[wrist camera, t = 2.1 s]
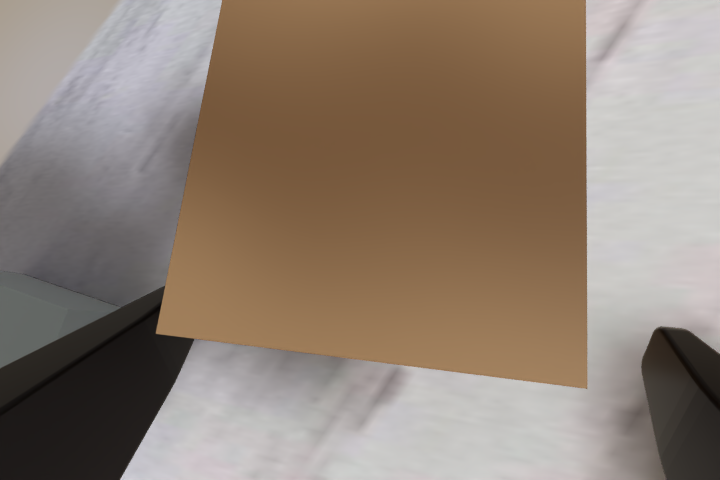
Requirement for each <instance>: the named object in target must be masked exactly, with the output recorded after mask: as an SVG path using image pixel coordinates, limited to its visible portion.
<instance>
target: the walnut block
mask: <svg viewBox="0 0 720 480" xmlns="http://www.w3.org/2000/svg"><path fill="white" fill-rule="evenodd" d="M156 334H162V335H169V336H177V337H185V338H193V339H201V340H209V341H217V342H224V343H232V344H240V345H248V346H256V347H264V348H272V349H279V350H287V351H295V352H303V353H311V354H319V355H327V356H334V357H342V358H350V359H358V360H366V361H374V362H382V363H389V364H397V365H405V366H413V367H421V368H429V369H437V370H444V371H452V372H460V373H468V374H476V375H484V376H492V377H499V378H507V379H515V380H523V381H531V382H539V383H547V384H554V385H562V386H570V387H578V388H586V389H587V194H586V0H222V5H221V10H220V15H219V20H218V25H217V30H216V35H215V40H214V45H213V50H212V55H211V60H210V65H209V70H208V75H207V80H206V85H205V90H204V95H203V100H202V105H201V110H200V115H199V120H198V125H197V130H196V135H195V140H194V145H193V150H192V155H191V160H190V165H189V170H188V175H187V180H186V185H185V190H184V195H183V200H182V205H181V210H180V215H179V220H178V225H177V230H176V235H175V240H174V245H173V250H172V255H171V260H170V265H169V270H168V275H167V280H166V285H165V290H164V295H163V300H162V305H161V310H160V315H159V320H158V325H157V330H156Z"/></svg>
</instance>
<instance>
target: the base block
mask: <svg viewBox="0 0 720 480" xmlns="http://www.w3.org/2000/svg"><path fill="white" fill-rule="evenodd" d="M119 308H121V307H118V306H115V305H112V304H109V303H106V302H103V301H100V300H97V299H94V298H92V297H89V296H86V295H83V294H80V293H77V292H74V291H71V290H68V289H65V288H62V287H59V286H56V285H53V284H51V283H48V282H45V281H42V280H39V279H36V278H33V277H30V276H27V275H24V274H20V273H13V272H6V271H0V368H1V367H3V366H5V365H7V364H9V363H11V362H13V361H15V360H17V359H19V358H21V357H23V356H25V355H27V354H29V353H31V352H33V351H35V350H37V349H39V348H41V347H43V346H45V345H47V344H49V343H51V342H53V341H55V340H57V339H59V338H61V337H63V336H65V335H67V334H69V333H71V332H73V331H75V330H77V329H79V328H81V327H83V326H85V325H87V324H89V323H91V322H93V321H95V320H97V319H99V318H101V317H103V316H105V315H107V314H109V313H111V312H113V311H115V310H117V309H119Z"/></svg>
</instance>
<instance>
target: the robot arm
mask: <svg viewBox="0 0 720 480" xmlns="http://www.w3.org/2000/svg"><path fill="white" fill-rule="evenodd" d="M164 290H165V286H164V287H162V288H160V289H158V290H156V291H154V292H152V293H150V294H148V295H146V296H144V297H142V298H140V299H138V300H136V301H134V302H132V303H130V304H128V305H125V306H123V307H121V308H119V309H117V310H115V311H113V312H111V313H109V314H107V315H105V316H103V317H101V318H99V319H97V320H95V321H93V322H91V323H89V324H87V325H85V326H83V327H81V328H79V329H77V330H75V331H73V332H71V333H69V334H67V335H65V336H63V337H61V338H59V339H57V340H55V341H53V342H51V343H49V344H47V345H45V346H43V347H41V348H39V349H37V350H35V351H33V352H31V353H29V354H27V355H25V356H23V357H21V358H19V359H17V360H15V361H13V362H11V363H9V364H7V365H5V366H3V367H1V368H0V480H120V479H121V477H122V475H123V473H124V472H125V470H126V468H127V466H128V465H129V463H130V461H131V459H132V457H133V456H134V454H135V452H136V450H137V449H138V447H139V445H140V443H141V442H142V440H143V438H144V436H145V435H146V433H147V431H148V429H149V428H150V426H151V424H152V422H153V421H154V419H155V417H156V415H157V413H158V412H159V410H160V408H161V406H162V405H163V403H164V401H165V399H166V398H167V396H168V394H169V392H170V390H171V389H172V387H173V385H174V383H175V381H176V379H177V377H178V375H179V373H180V370H181V368H182V366H183V364H184V362H185V359H186V357H187V355H188V353H189V350H190V348H191V346H192V344H193V341H194V339H193V338H185V337H177V336H169V335H162V334H156V330H157V325H158V320H159V315H160V310H161V305H162V300H163V295H164ZM641 368H642V376H643V381H644V386H645V390H646V395H647V400H648V405H649V410H650V415H651V420H652V424H653V429H654V434H655V439H656V444H657V448H658V452H659V457H660V461H661V464H662V467H663V470H664V474H665V477H666V480H720V354H719V353H718V352H716V351H715V350H714V349H712V348H711V347H710V346H708V345H707V344H706V343H704V342H703V341H702V340H701V339H699V338H698V337H697V336H695V335H694V334H693V333H691V332H690V331H688V330H686V329H682V328H673V327H658V328H656V329H655V330H654V332H653V334H652V336H651V339H650V341H649V344H648V346H647V349H646V351H645V354H644V356H643V359H642V366H641Z"/></svg>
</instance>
